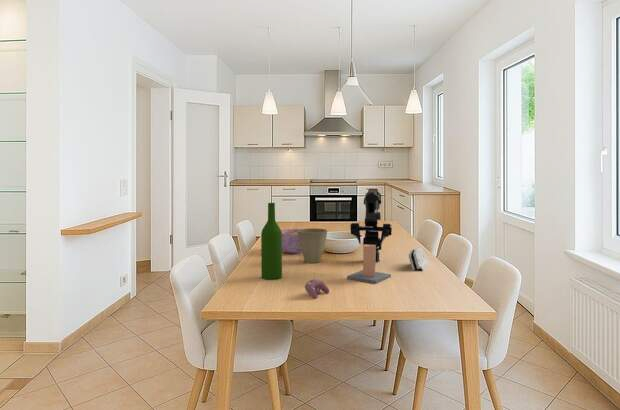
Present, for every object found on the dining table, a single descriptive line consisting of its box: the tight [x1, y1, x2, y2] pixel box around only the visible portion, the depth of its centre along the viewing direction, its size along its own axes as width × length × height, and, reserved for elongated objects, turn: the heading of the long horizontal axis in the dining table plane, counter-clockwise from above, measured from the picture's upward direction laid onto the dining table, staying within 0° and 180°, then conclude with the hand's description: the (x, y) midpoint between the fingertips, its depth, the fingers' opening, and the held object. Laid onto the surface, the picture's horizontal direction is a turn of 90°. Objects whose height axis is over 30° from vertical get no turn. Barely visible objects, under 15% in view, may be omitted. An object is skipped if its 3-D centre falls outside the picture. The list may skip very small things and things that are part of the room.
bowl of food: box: [281, 228, 302, 255], centre depth 265 cm, size 20×20×12 cm
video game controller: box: [304, 278, 330, 299], centre depth 182 cm, size 10×5×7 cm, turn 146°
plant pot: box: [298, 227, 328, 264], centre depth 240 cm, size 15×15×16 cm
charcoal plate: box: [346, 269, 392, 284], centre depth 208 cm, size 14×14×1 cm
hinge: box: [408, 247, 431, 272], centre depth 230 cm, size 17×5×10 cm, turn 155°
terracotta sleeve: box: [362, 244, 376, 277], centre depth 208 cm, size 5×5×13 cm
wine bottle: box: [260, 202, 283, 281], centre depth 207 cm, size 9×9×32 cm
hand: (370, 244), depth 215 cm, fingers open, 9 cm apart
